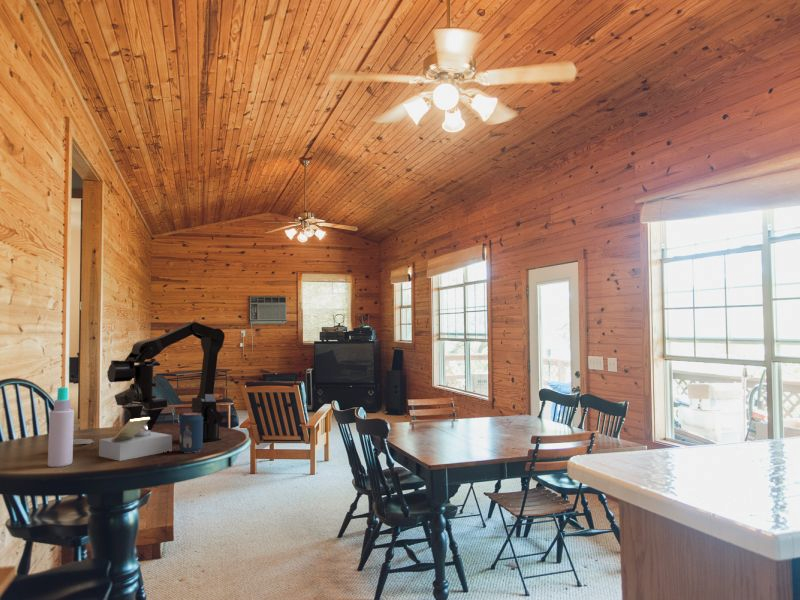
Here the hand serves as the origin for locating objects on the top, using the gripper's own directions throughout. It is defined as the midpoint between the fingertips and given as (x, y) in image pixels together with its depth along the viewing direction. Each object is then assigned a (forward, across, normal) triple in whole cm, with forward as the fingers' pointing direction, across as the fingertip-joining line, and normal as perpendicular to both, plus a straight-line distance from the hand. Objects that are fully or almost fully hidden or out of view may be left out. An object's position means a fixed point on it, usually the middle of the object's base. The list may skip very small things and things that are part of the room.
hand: (142, 429), depth 178 cm
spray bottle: (+7, -1, -24) cm, 25 cm away
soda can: (+7, +14, +9) cm, 18 cm away
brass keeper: (-2, +9, -8) cm, 12 cm away
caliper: (+8, -24, -10) cm, 27 cm away
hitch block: (+7, +2, -3) cm, 8 cm away
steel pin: (+7, 0, 0) cm, 7 cm away
